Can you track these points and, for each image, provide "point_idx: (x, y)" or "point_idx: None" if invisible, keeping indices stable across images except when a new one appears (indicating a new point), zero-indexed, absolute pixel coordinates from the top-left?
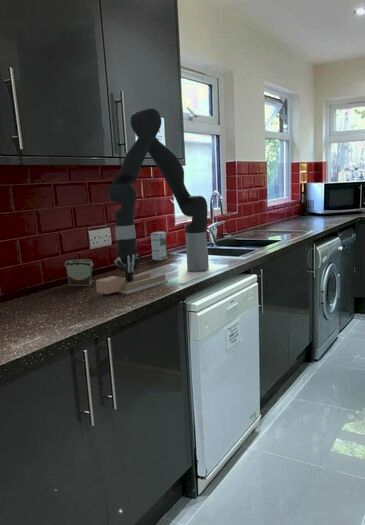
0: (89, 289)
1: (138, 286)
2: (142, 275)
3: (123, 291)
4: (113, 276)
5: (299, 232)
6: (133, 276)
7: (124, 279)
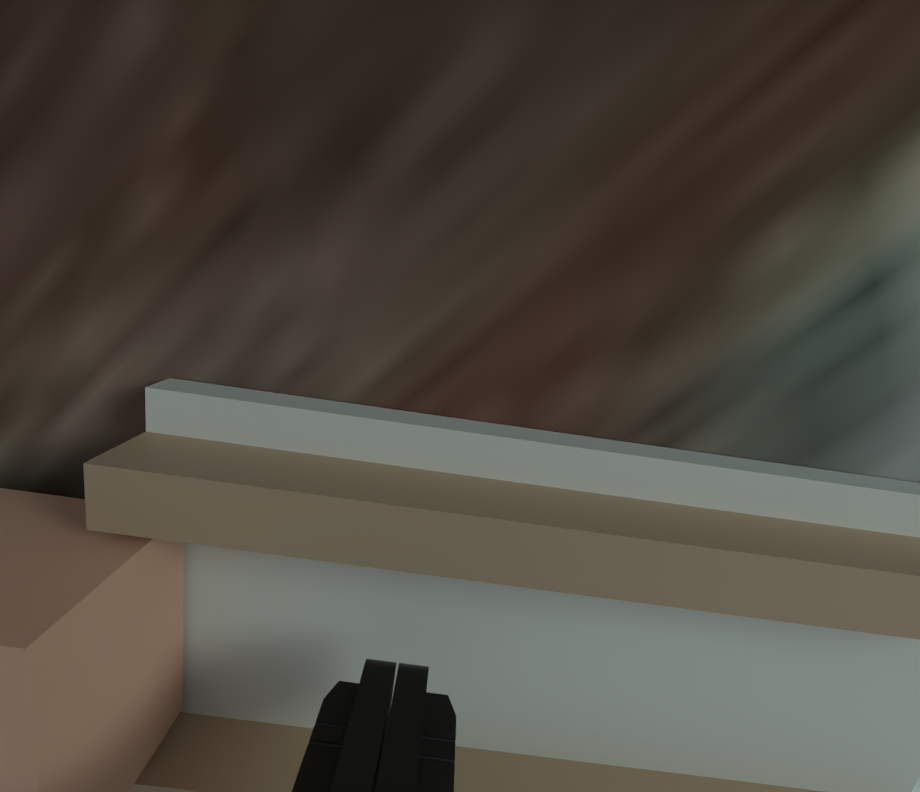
0: (65, 31)
1: None
2: (880, 625)
3: None
4: (6, 699)
5: None
6: (715, 573)
7: (442, 571)
